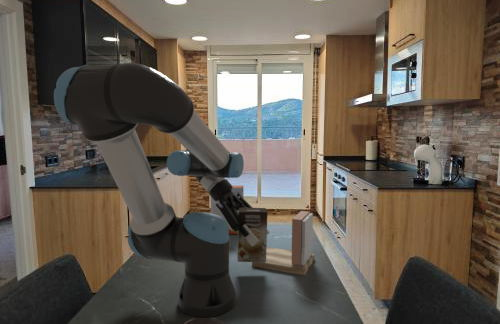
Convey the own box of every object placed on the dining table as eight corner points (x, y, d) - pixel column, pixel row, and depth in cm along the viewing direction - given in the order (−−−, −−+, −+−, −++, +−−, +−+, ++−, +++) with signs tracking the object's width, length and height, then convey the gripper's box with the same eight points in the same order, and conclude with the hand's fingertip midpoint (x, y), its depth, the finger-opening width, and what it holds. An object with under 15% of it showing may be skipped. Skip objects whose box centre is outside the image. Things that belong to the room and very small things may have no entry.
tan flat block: (300, 265, 108) (301, 219, 106) (291, 263, 109) (292, 218, 107) (308, 253, 118) (309, 211, 116) (300, 252, 119) (301, 210, 117)
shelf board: (304, 275, 106) (304, 269, 106) (252, 266, 113) (252, 260, 113) (314, 259, 119) (314, 253, 119) (266, 251, 126) (266, 246, 126)
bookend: (304, 267, 107) (305, 221, 106) (292, 265, 109) (292, 220, 107) (312, 255, 117) (312, 213, 116) (300, 253, 119) (301, 212, 117)
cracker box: (244, 230, 151) (244, 185, 149) (242, 235, 145) (242, 187, 143) (213, 229, 153) (213, 184, 150) (210, 234, 147) (210, 186, 144)
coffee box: (237, 262, 104) (237, 211, 103) (237, 255, 110) (237, 207, 109) (266, 262, 104) (267, 211, 103) (265, 255, 111) (266, 207, 109)
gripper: (225, 188, 122) (265, 236, 117) (191, 198, 102) (239, 257, 97) (238, 174, 119) (280, 223, 114) (207, 182, 99) (256, 242, 94)
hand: (261, 239), depth 106 cm, fingers closed on coffee box, 9 cm apart
